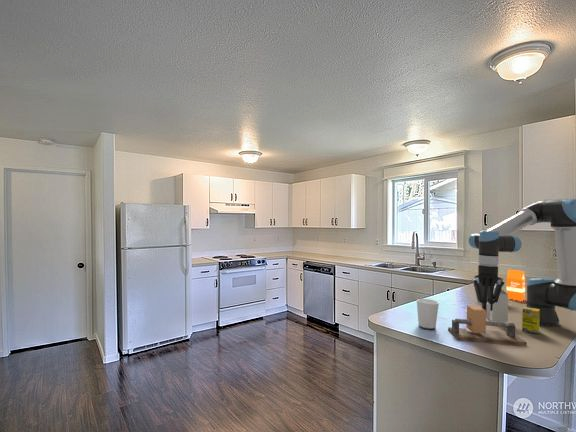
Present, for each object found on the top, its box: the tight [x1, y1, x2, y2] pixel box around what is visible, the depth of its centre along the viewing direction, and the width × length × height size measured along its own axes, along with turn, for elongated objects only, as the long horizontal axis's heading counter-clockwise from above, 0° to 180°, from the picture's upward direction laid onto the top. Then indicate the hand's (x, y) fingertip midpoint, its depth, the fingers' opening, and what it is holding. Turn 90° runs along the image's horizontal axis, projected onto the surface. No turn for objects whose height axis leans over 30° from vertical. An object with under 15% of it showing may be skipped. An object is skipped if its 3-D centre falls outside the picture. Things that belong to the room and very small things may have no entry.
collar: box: [466, 305, 487, 334], centre depth 139 cm, size 5×7×10 cm
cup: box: [416, 298, 440, 331], centre depth 149 cm, size 10×10×13 cm
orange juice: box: [506, 269, 526, 302], centre depth 212 cm, size 8×9×20 cm
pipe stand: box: [447, 318, 527, 347], centre depth 138 cm, size 27×12×8 cm, turn 81°
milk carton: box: [488, 284, 509, 323], centre depth 163 cm, size 7×7×19 cm
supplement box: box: [521, 306, 540, 335], centre depth 148 cm, size 6×6×11 cm
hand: (486, 317), depth 138 cm, fingers closed
